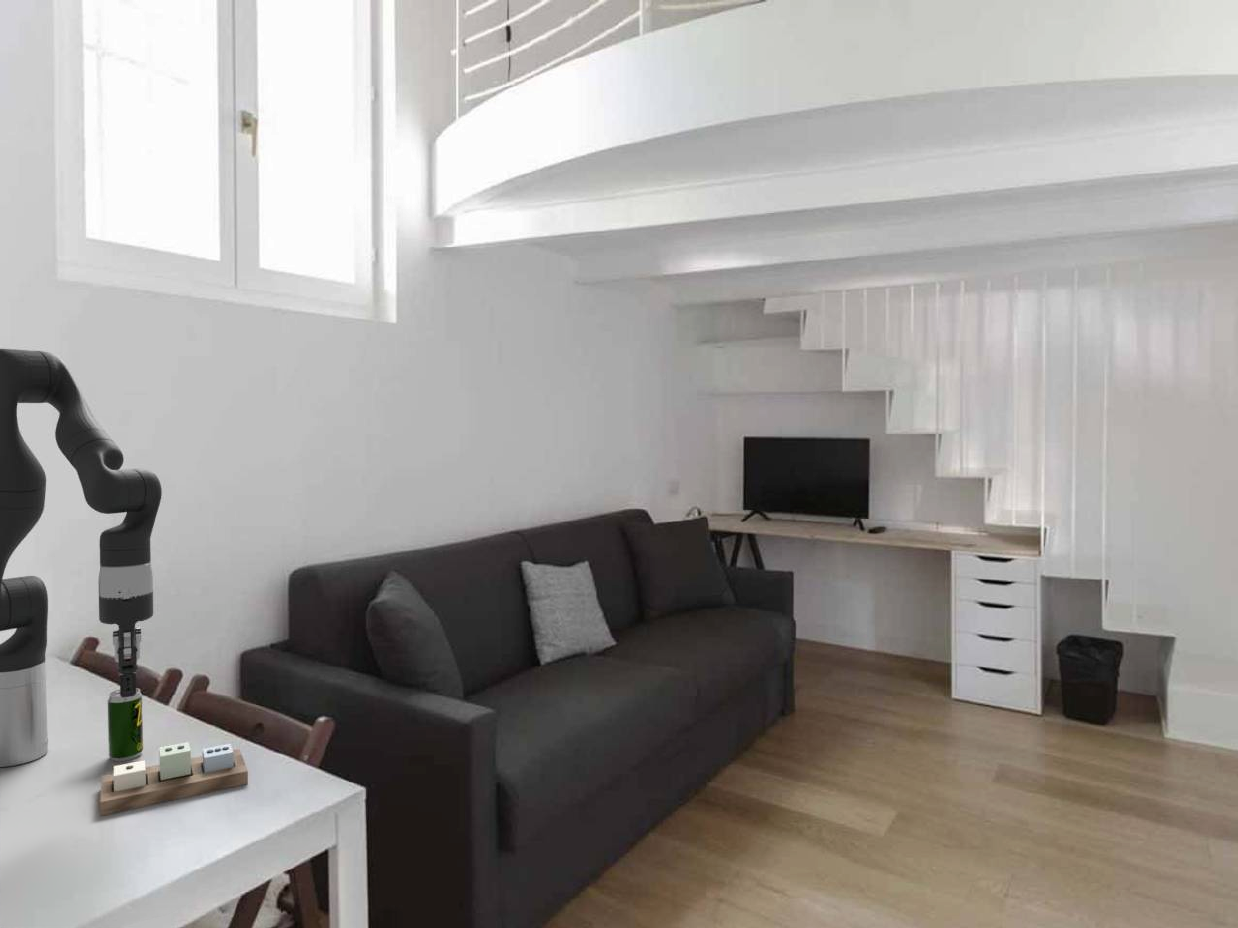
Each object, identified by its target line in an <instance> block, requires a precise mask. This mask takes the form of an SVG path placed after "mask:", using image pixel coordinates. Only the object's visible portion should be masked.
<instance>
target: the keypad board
mask: <svg viewBox="0 0 1238 928" xmlns="http://www.w3.org/2000/svg"><path fill="white" fill-rule="evenodd" d="M233 755H234V767H232V768H227V769H222V770H217V771H212V772H208V773H203V755H202V756H196V757H191V774H189V775H184V776H179V777H174V778H169V779H165V780H161V778H160V764H156V765H151V766H145V768H146V785H145V786H140V787H135V788H130V789H126V790H121V791H116V792H114V773H112V774H111V773H110V774H105V775H102V776H101V780H100V781H101V783H100V784H101V785H100V800H99V804H100V805H99V807H100V808H99V810H100V811H99V812H100V817H102V816H103V817H104V816H106V815H111V814H115V813H121V812H125V811H129V810H133V809H134V808H135V809H139V808H143V807H148V806H152V805H157V804H160V803H166V802H171V801H176V800H180V799H183V798H188V797H194V796H198V795H203V794H207V793H212V792H216V791H221V790H224V789H231V788H233V787H239V786H243V785H248V784H249V775H248V774H249V772H248V768H247V766H246V763H245V760H244V756H243V754H242V751H241V749H240V748H236V749H233ZM135 809H134V810H135Z"/></svg>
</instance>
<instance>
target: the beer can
mask: <svg viewBox="0 0 1238 928" xmlns="http://www.w3.org/2000/svg"><path fill="white" fill-rule="evenodd" d="M107 722H108V723H107V728H108V729H107V731H108V732H107V733H108V734H107V735H108V736H107V737H108V738H107V739H108V756H109V758H110V760H111V761H113V762H125V761H131V760H134V759H136V758H139V757H140V756H141V755H142V752H143V751H144V732H143V730H144V727H143V726H144V725H143V694H142V693H141V689H140V688H137V687H136V694H135V695H134V696H129V697H121V696H120V689H117V690H114V691H111V692H110V693H109V694H108V698H107Z"/></svg>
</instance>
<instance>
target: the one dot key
mask: <svg viewBox="0 0 1238 928" xmlns="http://www.w3.org/2000/svg"><path fill="white" fill-rule="evenodd" d="M145 767H146V760H140V761H134V762H129V763H124V764H117V765H114V766H113V774H114V792H116V791H121V790H126V789H130V788H135V787H140V786H145V785H146V768H145Z"/></svg>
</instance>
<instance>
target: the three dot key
mask: <svg viewBox="0 0 1238 928" xmlns="http://www.w3.org/2000/svg"><path fill="white" fill-rule="evenodd" d="M233 750H234V749H233V746H232V744H231V743H228V744H227V743H226V744H221V745H215V746H212V747H211V746H210V747H206V748H202V756H203V773H208V772H212V771H217V770H222V769H227V768H232V767H234V755H233Z"/></svg>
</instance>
